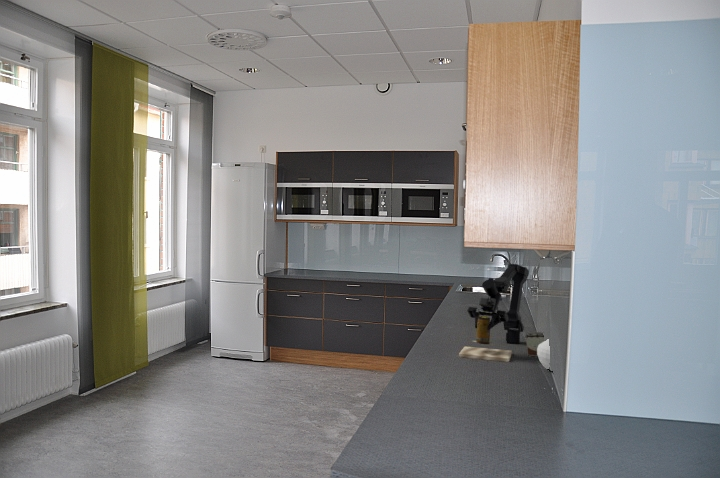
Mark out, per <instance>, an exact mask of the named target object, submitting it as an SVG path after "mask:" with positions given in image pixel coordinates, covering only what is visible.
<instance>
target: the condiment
mask: <svg viewBox="0 0 720 478" xmlns="http://www.w3.org/2000/svg"><path fill="white" fill-rule="evenodd" d="M490 319H491V317H490V316H484V315H481V316H479V317H478V322H477V328H476V336H475V337H476V338H475V339H476V340H472V342H474V343H476V344H479V345H481V346H493V345H495V343H494V342H490V338H491V329H490V330H488V326H489V323H490V321H491V320H490Z"/></svg>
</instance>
